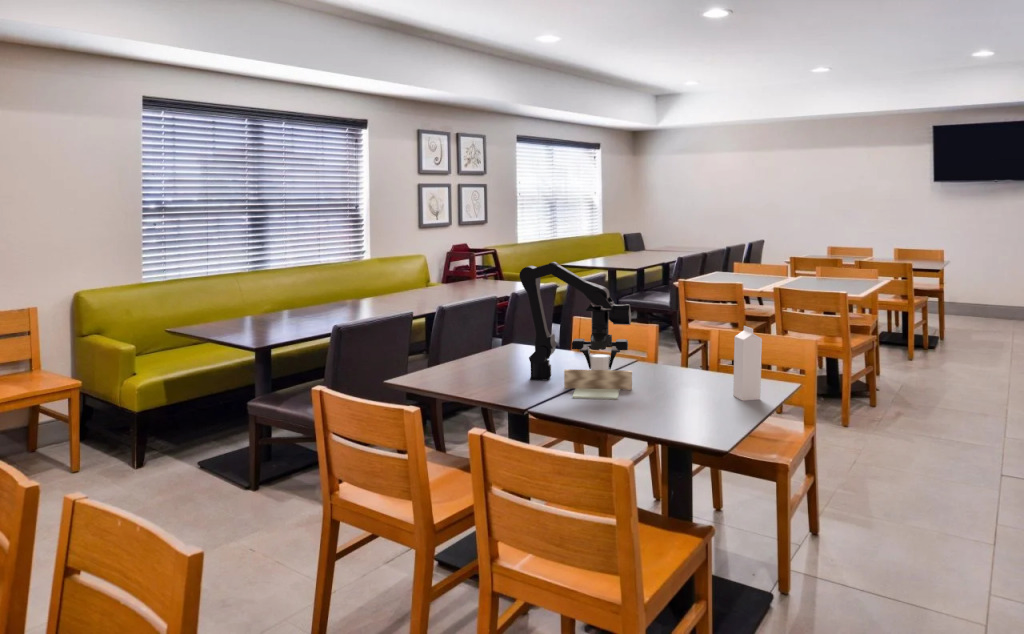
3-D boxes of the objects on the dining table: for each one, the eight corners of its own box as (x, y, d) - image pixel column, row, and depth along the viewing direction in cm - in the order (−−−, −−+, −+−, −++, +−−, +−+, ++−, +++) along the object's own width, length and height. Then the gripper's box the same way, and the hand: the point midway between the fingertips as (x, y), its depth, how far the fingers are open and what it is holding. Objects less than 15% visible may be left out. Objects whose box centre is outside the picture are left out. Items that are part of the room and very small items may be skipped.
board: (564, 388, 240) (564, 370, 239) (564, 387, 241) (564, 369, 240) (631, 389, 235) (631, 371, 235) (631, 388, 237) (632, 370, 236)
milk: (750, 394, 226) (753, 325, 223) (760, 399, 220) (763, 328, 217) (732, 396, 225) (734, 325, 222) (741, 400, 219) (744, 329, 216)
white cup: (609, 378, 244) (609, 357, 243) (589, 377, 245) (589, 357, 244) (610, 373, 250) (610, 353, 249) (591, 373, 252) (590, 353, 251)
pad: (572, 398, 227) (572, 396, 227) (575, 390, 237) (575, 388, 237) (617, 399, 224) (617, 397, 224) (619, 391, 234) (619, 389, 234)
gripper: (569, 327, 239) (570, 374, 241) (627, 328, 235) (626, 375, 238) (573, 322, 250) (573, 366, 252) (628, 322, 246) (628, 367, 249)
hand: (600, 369), depth 247 cm, fingers closed on white cup, 6 cm apart
